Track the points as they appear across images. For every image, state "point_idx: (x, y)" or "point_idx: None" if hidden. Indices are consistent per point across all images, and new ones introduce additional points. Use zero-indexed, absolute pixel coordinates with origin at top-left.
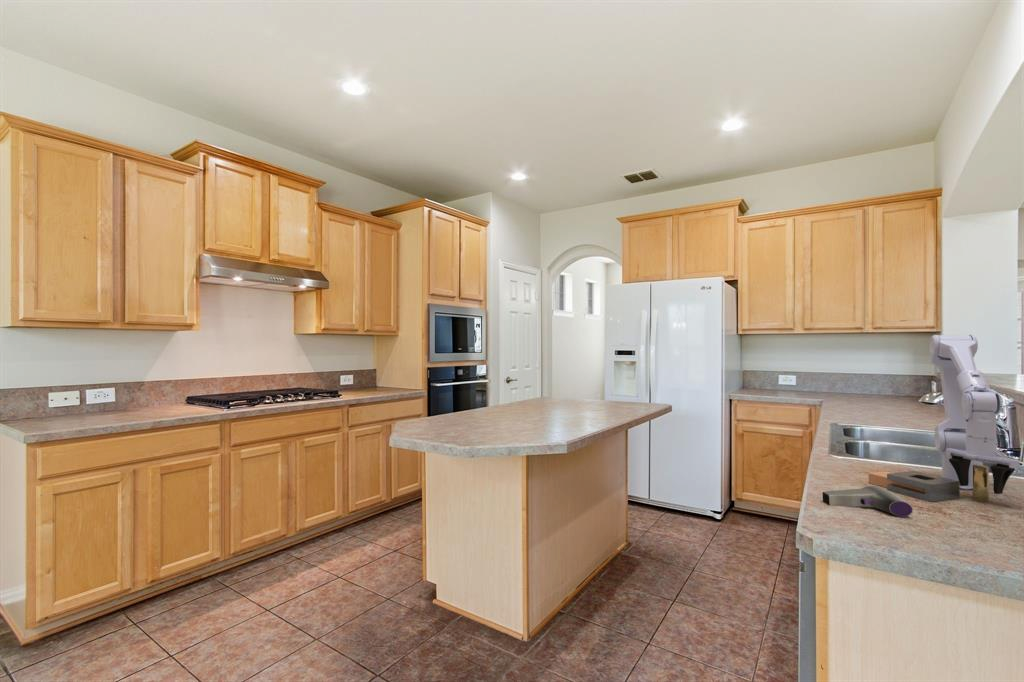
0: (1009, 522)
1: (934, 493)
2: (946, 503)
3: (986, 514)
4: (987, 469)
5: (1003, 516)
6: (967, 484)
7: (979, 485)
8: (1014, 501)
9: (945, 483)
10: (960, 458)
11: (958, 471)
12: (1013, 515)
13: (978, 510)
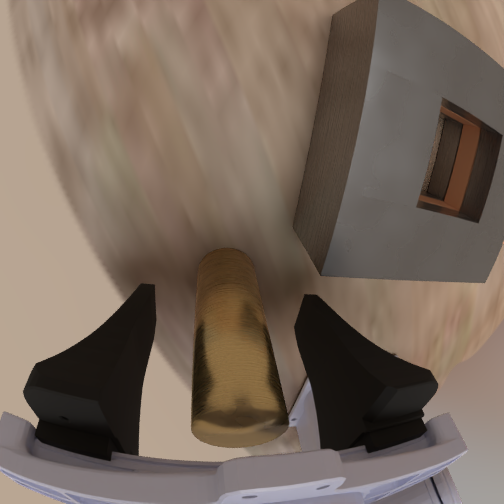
0: (26, 28)
1: (348, 25)
2: (287, 53)
3: (103, 38)
4: (191, 414)
5: (58, 86)
6: (296, 327)
7: (221, 299)
8: (170, 363)
9: (358, 126)
10: (377, 434)
11: (352, 340)
12: (50, 149)
13: (147, 68)
